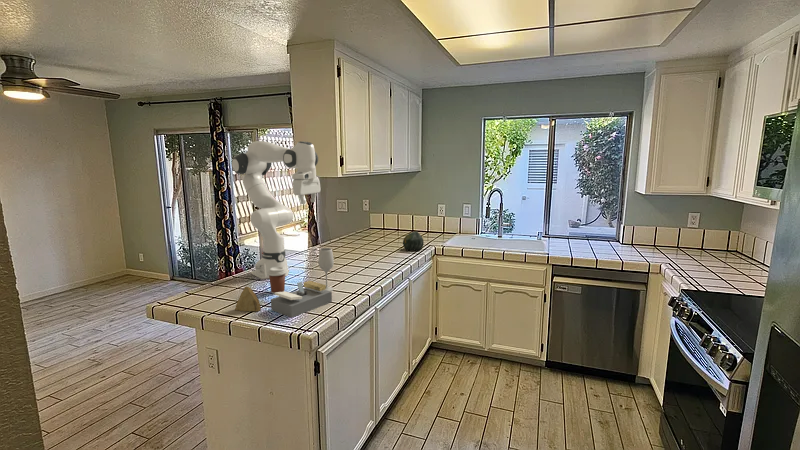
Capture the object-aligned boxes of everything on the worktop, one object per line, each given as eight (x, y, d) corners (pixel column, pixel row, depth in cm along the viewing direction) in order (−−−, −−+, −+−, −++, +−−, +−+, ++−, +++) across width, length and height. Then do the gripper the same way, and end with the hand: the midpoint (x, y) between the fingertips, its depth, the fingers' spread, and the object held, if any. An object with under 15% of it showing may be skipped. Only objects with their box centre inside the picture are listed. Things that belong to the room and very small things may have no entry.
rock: (268, 304, 173) (257, 295, 179) (256, 292, 167) (246, 284, 174) (248, 323, 168) (239, 313, 175) (236, 312, 163) (227, 302, 170)
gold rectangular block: (303, 286, 184) (303, 282, 183) (309, 284, 187) (309, 280, 186) (319, 291, 177) (319, 286, 177) (325, 289, 180) (325, 285, 180)
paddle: (299, 295, 176) (296, 283, 176) (303, 294, 177) (299, 282, 177) (301, 295, 175) (298, 282, 175) (305, 294, 176) (302, 281, 177)
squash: (399, 240, 296) (404, 228, 285) (418, 240, 300) (423, 228, 289) (403, 256, 287) (408, 243, 276) (422, 255, 292) (428, 243, 281)
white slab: (274, 294, 171) (274, 292, 171) (285, 293, 176) (286, 291, 176) (290, 299, 164) (291, 297, 164) (302, 298, 169) (302, 296, 169)
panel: (271, 310, 172) (270, 295, 171) (311, 295, 190) (311, 282, 189) (291, 317, 164) (291, 302, 163) (331, 301, 182) (331, 287, 181)
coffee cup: (280, 287, 202) (279, 265, 200) (291, 291, 197) (290, 268, 195) (264, 292, 195) (263, 268, 193) (275, 296, 190) (274, 272, 188)
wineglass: (319, 292, 195) (318, 251, 192) (318, 287, 202) (317, 248, 199) (335, 291, 197) (334, 250, 194) (333, 286, 204) (332, 247, 201)
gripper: (312, 174, 203) (313, 201, 205) (289, 175, 184) (291, 205, 186) (323, 174, 201) (324, 201, 203) (301, 175, 182) (303, 205, 184)
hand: (308, 203), depth 194 cm, fingers open, 8 cm apart
